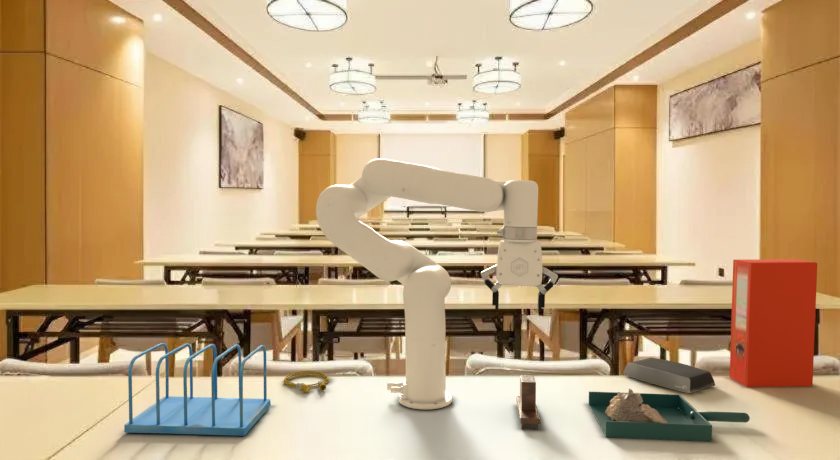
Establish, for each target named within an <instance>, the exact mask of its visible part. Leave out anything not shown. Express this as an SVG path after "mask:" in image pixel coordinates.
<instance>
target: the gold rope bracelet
mask: <svg viewBox="0 0 840 460" xmlns="http://www.w3.org/2000/svg"><path fill="white" fill-rule="evenodd" d="M307 376H308V377H309V376H311V377H320V378H324V380H318V381H317V382H316V383H312V384H311V383H310V384H306V383H304V382H297V383H294V382H292V381H289V380H292V379H295V378H300V377H307ZM283 383H284V384H285V385H287V386H288V387H290V388H291V387H292V388H297V389H298V390H299V391H300V392H304V393H309V392H311V391H312V388H317V387H318V389H320V390H321V391H326V390H327V384H328V383H330V378H329V376H328V375H327V374H325V373H323V372H320V371H316V370H299V371H295V372H291V373H290V374H288V375H286V376H285V377H284V380H283Z"/></svg>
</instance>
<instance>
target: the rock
mask: <svg viewBox="0 0 840 460" xmlns="http://www.w3.org/2000/svg"><path fill="white" fill-rule="evenodd" d="M616 392H617V391H616ZM617 393H618V394H617V396H614V398H613V399H611V401H610V405H609V406H608V408H607V410H606V411H605V413H607V415H608V417H611V419H612V420H611V421H613V420H616V421H625V422H651V423H668V422H667V421H666V420H665V418H662V417H661V416H660V414H659V413H658V411H657V410H655V409H653V408H650V406H649V405H645V404H642V402H643V400H642V397H641V396H640V393H641V392H634V391H633V389H631V388H628V392H620V391H618V392H617ZM623 393H624V394H623ZM626 393H628V394H626ZM640 404H641V406H639V405H640Z"/></svg>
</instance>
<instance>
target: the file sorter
mask: <svg viewBox="0 0 840 460" xmlns="http://www.w3.org/2000/svg"><path fill="white" fill-rule="evenodd" d="M162 346H163V348H164V353H165V354H163V355H162V356H160V358H159V359H158V361H157V363H156V366H155V402H154V403H153V404H152V405H150V406H149V407H147V408H146V409H145V410H143V411H142V412H140V413H139V414H137V415H136V416H135V417H134V418H133V416H134V415H133V412H134V411H133V366H134V363H135V362H136V361H137V359H139V358H141V357H143V356H144V355H147V354H148V353H150V352H152V351H154V350H156V349H158V348H160V347H162ZM185 347H188V352H189V353H188V354H189V357H187V358H186V361H185V362H184V364H183V371H182V372H183V376H182V378H183V380H182V381H183V396H174V395H173V396H169V393H170V392H169V391H170V388H169V387H170V384H169V381H170V380H169V371H170V369H169V357H170V356H171V355H173V354H175V353H177V352H178V351H180V350H182V349H184V348H185ZM210 348H212V350H213V362H212V365H211V373H210V375H211V376H210V377H211V378H210V379H211V382H210V383H211V385H210V386H211V396H210V397H209V396H208V397H207V396H194V373H193V372H194V371H193V370H194V369H193V368H194V367H193V365H194V364H193V363H194V360H193V359H194V358H196V357H197V356H199V355H200V354H202V353H204V352H206V351H207V350H209V349H210ZM236 348H237V355H238V356H237V357H238V358H237V359H238V397H218V361H219V360H221V359H222V358H224V357H225V356H227V355H228V354H229V353H230V352H232V351H233V350H235V349H236ZM261 349H262V351H263V352H262V354H263V355H262V356H263V398H253V397H251V398H249V397H248V398H247V397H246V398H245V397H244V368H245V364H246V362H247V361H248V360H249V359H250V358H252V357H253V356H254V355H256V353H258V352H259V351H260V350H261ZM217 351H218V350H217V347H216V344H214V343H210V344H208V345H206V346H205V347H203V348H201V349H199V350H198V351H197V352H194V353H193V347H192V345H191V344H190V343H188V342H187V343H183V344H181V345H180V346H178V347H176V348H174V349H172V350H171V351H169V347H168V345H167V343H166V342H160V343H158V344H155V345H154V346H151V347H150V348H147V349H146V350H144V351H142V352H139V353H138V354H136V355H134V356H133V357H132V358H131V360H130V363H129V364H128V365H129V366H128V372H127V376H128V379H127V380H128V421H127V422H126V423H124V424H123V425H124V426H123V427H124V429H123V432H124V433H129V434H130V433H131V434H134V433H135V434H168V435H169V434H170V435H171V434H173V435H175V434H176V435H206V436H207V435H208V436H238V437H239V436H240V437H245V436H246V435H247V434H248V433H249V432H250V430H251V429H252V428H254V426H255V425H256V423H257V422H258V421H259V420H260V419H261V418H262V417H263V415H264V414H265V413H266V411H268V409H269V408H270V407H271V406H272V405H271V403H272V402H271V398H267V397H268V396H267V390H268V389H267V387H268V386H267V385H268V384H267V383H268V382H267V381H268V380H267V349H266V345H264V344H261V345H259V346H257V347H256V348H255V349H254V350H252V351H251V352H250V353H249V354H248V355H246V356H245V357H244V358H243V359H242V349H241V346H240V345H239V344H234V345H232V346H231V347H229V348H228V349H226V350H225V351H223V352H222V353H221V354H219V355H218V352H217ZM164 359H165V396H163V397H162V398H161V397H160V387H161V386H160V368H161V364H162V362H163V360H164ZM188 367H189V396H188Z"/></svg>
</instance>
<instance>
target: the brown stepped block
mask: <svg viewBox="0 0 840 460" xmlns="http://www.w3.org/2000/svg"><path fill="white" fill-rule="evenodd" d="M515 398H516V408H517V412H518V419H519V423H520V428H521V430H537V431H539V430H540V425H541V417H540V413H539V410H538V405H537V382H536V379H535V376H534V375H522V374H521V375H519V395H516V397H515Z"/></svg>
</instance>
